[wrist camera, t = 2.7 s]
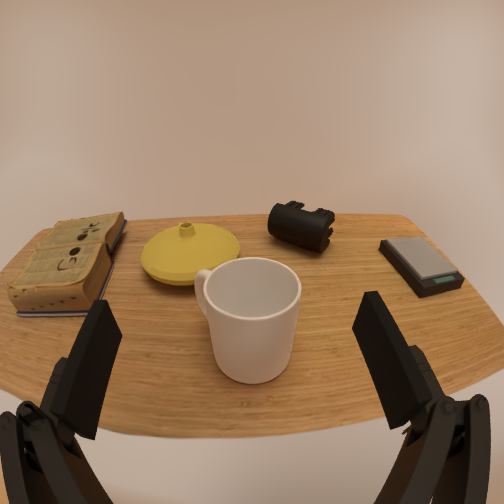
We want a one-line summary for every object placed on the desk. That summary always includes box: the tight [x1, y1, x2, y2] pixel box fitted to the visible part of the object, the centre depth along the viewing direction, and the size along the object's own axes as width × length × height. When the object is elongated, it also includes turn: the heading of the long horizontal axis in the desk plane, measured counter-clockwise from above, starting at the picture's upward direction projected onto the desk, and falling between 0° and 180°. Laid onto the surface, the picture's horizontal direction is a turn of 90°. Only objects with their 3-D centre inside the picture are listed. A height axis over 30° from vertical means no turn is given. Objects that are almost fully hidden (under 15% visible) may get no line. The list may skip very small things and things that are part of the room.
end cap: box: [267, 201, 335, 253], centre depth 46 cm, size 10×7×7 cm
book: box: [7, 212, 127, 316], centre depth 40 cm, size 25×17×6 cm
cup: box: [194, 257, 302, 384], centre depth 26 cm, size 8×12×10 cm
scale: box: [379, 237, 465, 298], centre depth 41 cm, size 14×11×3 cm
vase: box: [140, 222, 240, 285], centre depth 41 cm, size 16×16×7 cm
